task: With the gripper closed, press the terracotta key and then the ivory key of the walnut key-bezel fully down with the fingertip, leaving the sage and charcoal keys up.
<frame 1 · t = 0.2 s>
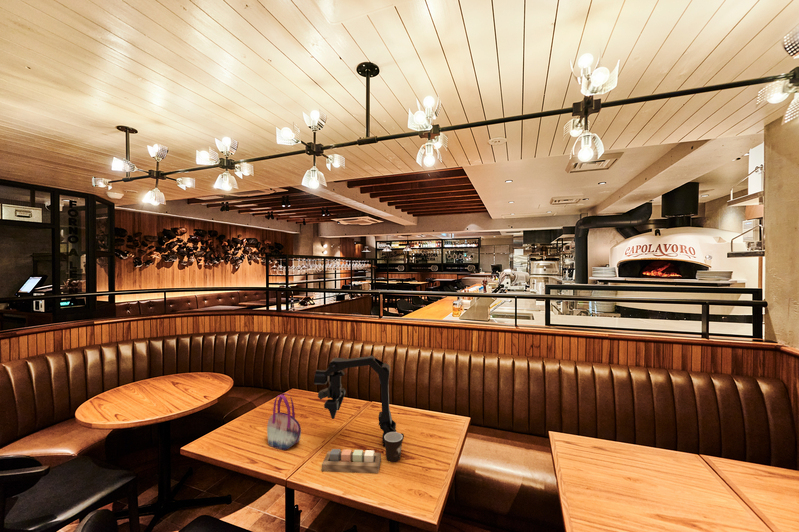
hand: (335, 414, 159), 14 cm above the table, fingers open, 9 cm apart
key terracotta: (346, 456, 141), point 4 cm above the table, slide at 0.0 cm
handbag: (283, 443, 158), on the table
key ivory: (369, 457, 141), point 4 cm above the table, slide at 0.0 cm
coffee mug: (396, 457, 147), on the table
key charcoal: (335, 456, 142), point 4 cm above the table, slide at 0.0 cm
key bezel: (352, 465, 141), on the table
key sage: (357, 456, 141), point 4 cm above the table, slide at 0.0 cm
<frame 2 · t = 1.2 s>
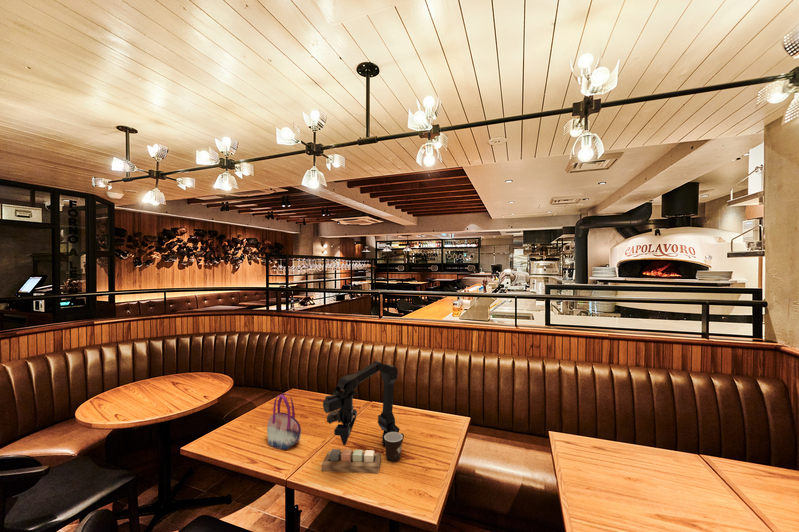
hand: (346, 440, 141), 11 cm above the table, fingers open, 7 cm apart
nothing on the table moved.
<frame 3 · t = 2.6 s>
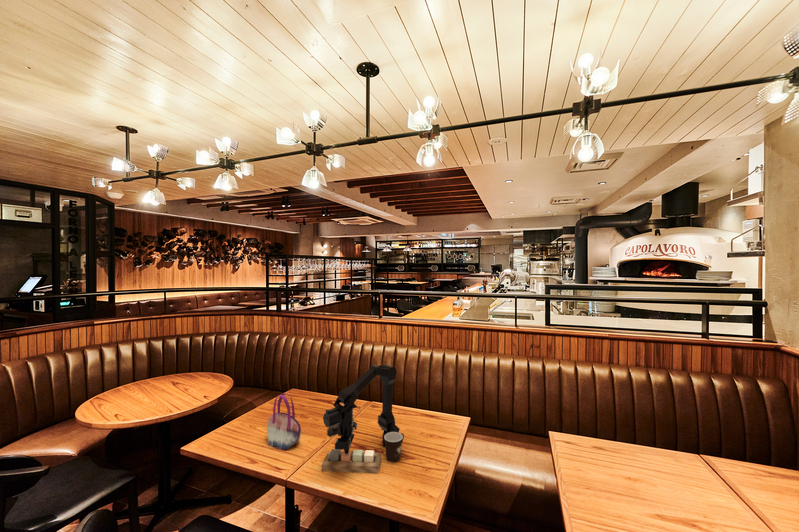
hand: (346, 453, 141), 5 cm above the table, fingers closed, pressing on key terracotta
key terracotta: (346, 457, 141), point 3 cm above the table, slide at 0.7 cm, touching gripper
everything else where it was.
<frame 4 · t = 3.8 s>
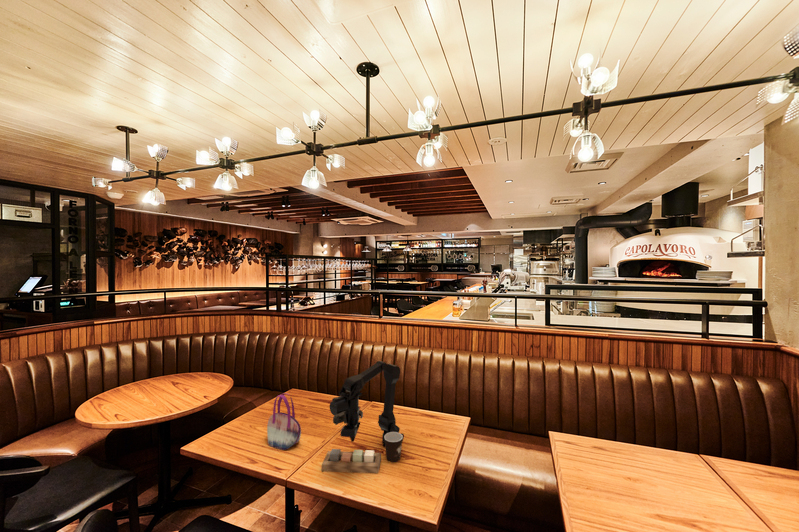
hand: (352, 441, 141), 11 cm above the table, fingers closed
key terracotta: (346, 459, 141), point 2 cm above the table, slide at 1.5 cm
everything else where it was.
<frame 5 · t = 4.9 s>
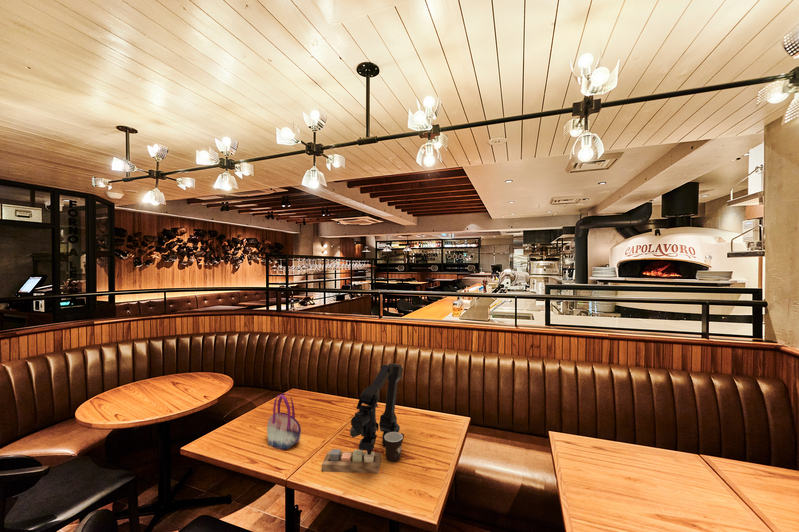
hand: (369, 454, 141), 5 cm above the table, fingers closed, pressing on key ivory
key ivory: (369, 458, 141), point 3 cm above the table, slide at 0.6 cm, touching gripper
everything else where it was.
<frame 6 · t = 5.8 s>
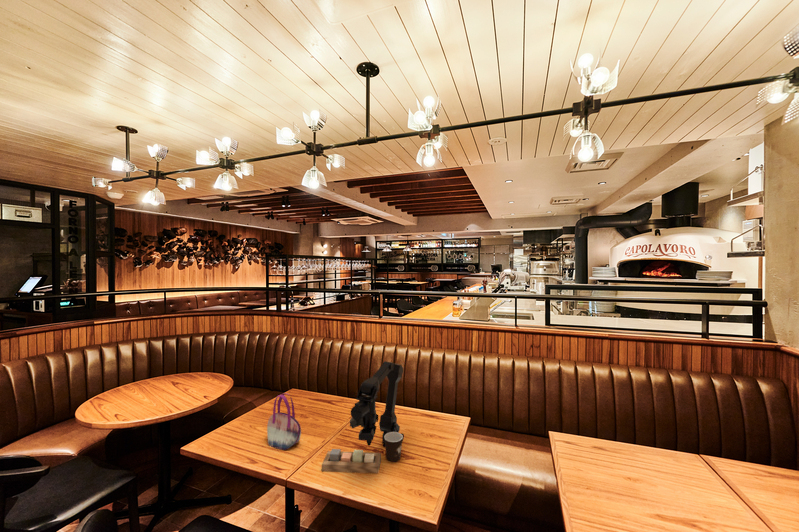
hand: (369, 445, 140), 9 cm above the table, fingers closed
key ivory: (369, 460, 141), point 2 cm above the table, slide at 1.6 cm
everything else where it was.
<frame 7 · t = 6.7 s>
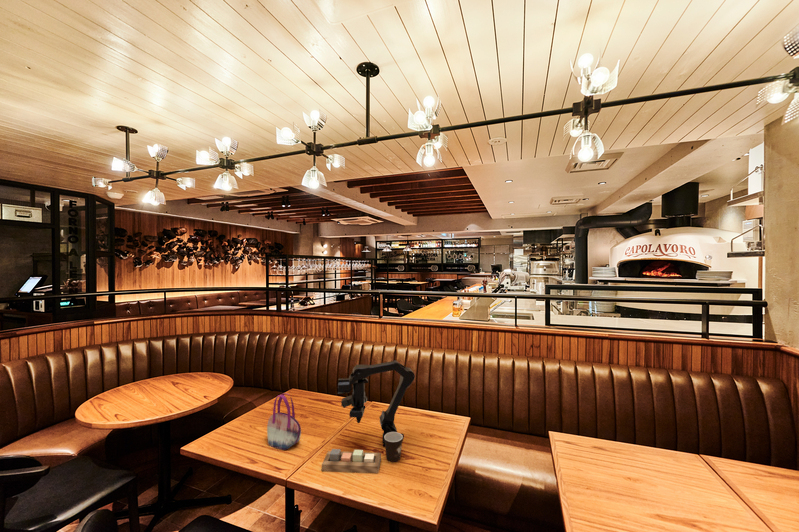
hand: (358, 422, 155), 12 cm above the table, fingers closed
nothing on the table moved.
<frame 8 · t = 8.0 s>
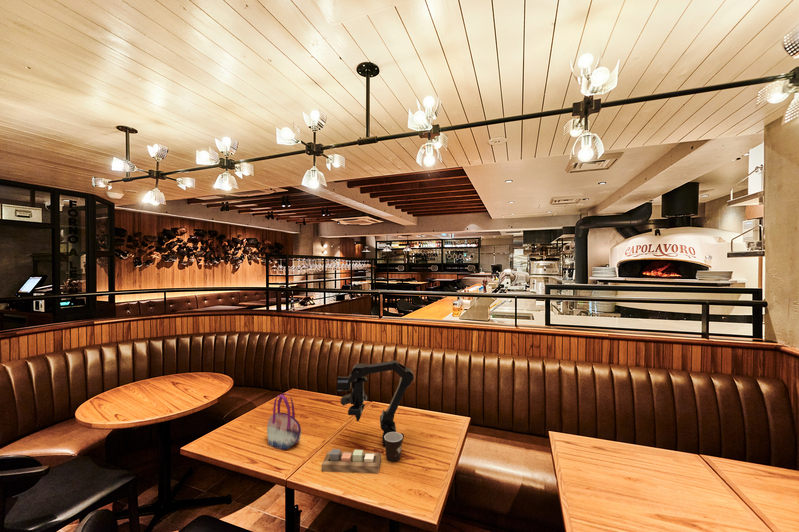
hand: (358, 420, 157), 12 cm above the table, fingers closed
nothing on the table moved.
at the end: key terracotta slide at 1.5 cm; key ivory slide at 1.6 cm; key sage slide at 0.0 cm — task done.
